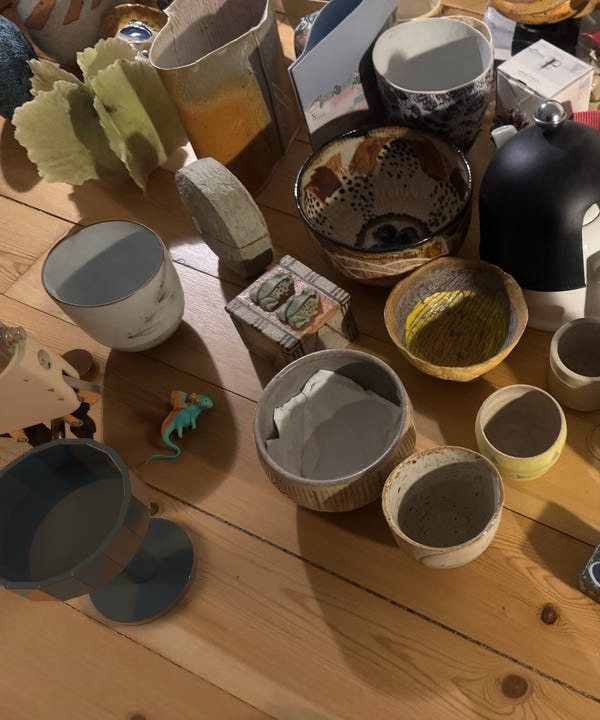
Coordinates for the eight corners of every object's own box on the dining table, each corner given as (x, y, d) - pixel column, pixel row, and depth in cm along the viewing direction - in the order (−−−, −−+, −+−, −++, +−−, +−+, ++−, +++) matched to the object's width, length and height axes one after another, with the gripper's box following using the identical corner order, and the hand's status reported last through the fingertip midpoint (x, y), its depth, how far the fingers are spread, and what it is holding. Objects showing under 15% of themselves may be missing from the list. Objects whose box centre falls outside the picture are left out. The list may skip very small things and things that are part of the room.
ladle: (61, 363, 90) (31, 333, 84) (99, 352, 90) (71, 322, 85) (66, 491, 80) (32, 468, 75) (107, 478, 81) (77, 454, 75)
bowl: (59, 571, 76) (-59, 509, 60) (167, 488, 80) (84, 410, 65) (120, 666, 70) (9, 625, 55) (232, 571, 75) (159, 509, 59)
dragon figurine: (216, 458, 81) (214, 388, 82) (144, 462, 78) (144, 390, 79) (212, 461, 87) (211, 396, 88) (146, 465, 84) (145, 398, 85)
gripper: (59, 296, 68) (142, 391, 84) (-126, 346, 66) (-5, 434, 81) (61, 358, 64) (148, 445, 80) (-135, 414, 62) (-6, 493, 77)
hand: (70, 439), depth 80 cm, fingers open, 3 cm apart
